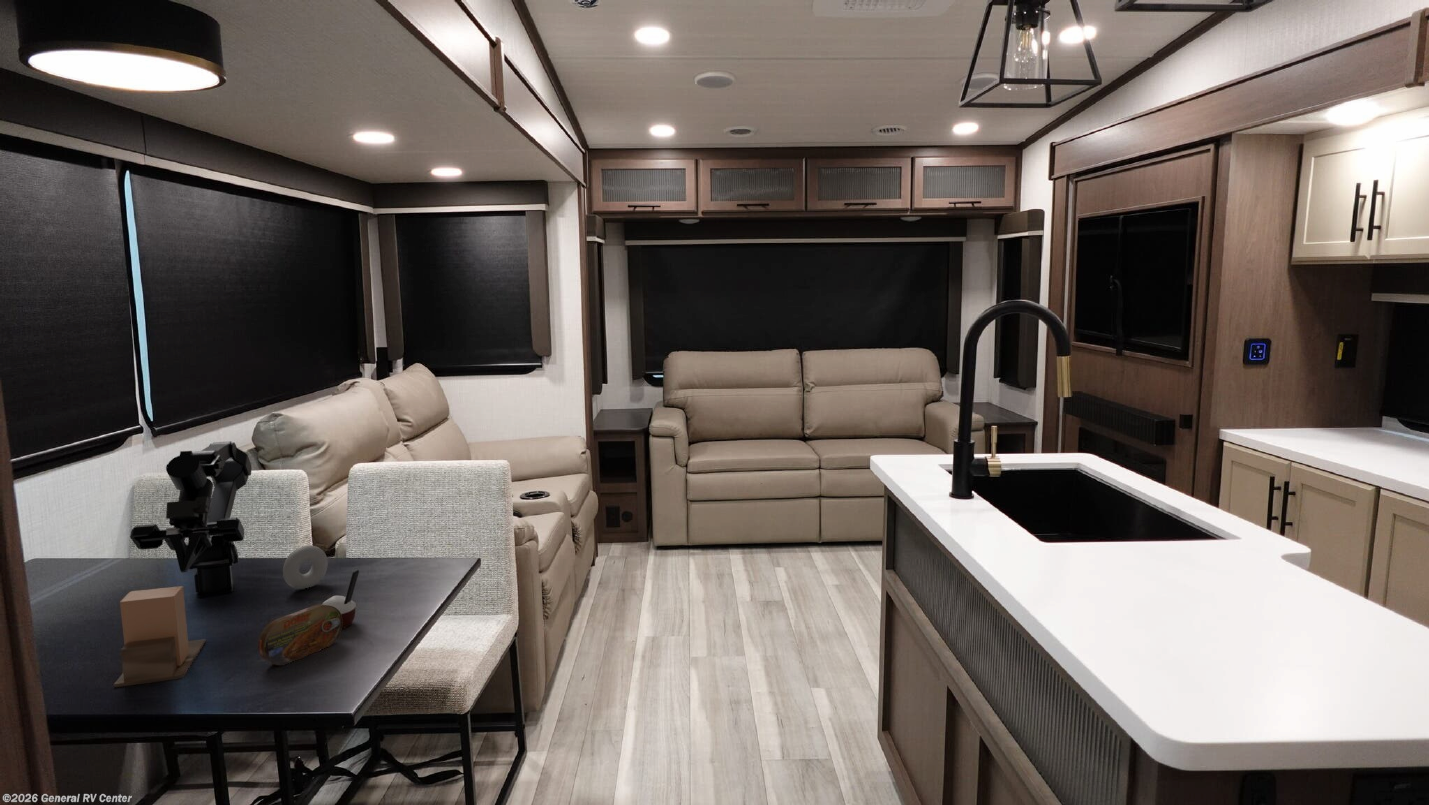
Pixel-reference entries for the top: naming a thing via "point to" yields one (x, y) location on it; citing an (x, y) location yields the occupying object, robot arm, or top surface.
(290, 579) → the donut
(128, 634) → the rectangular block
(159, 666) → the pipe stand
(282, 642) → the tin
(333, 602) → the cocoa
